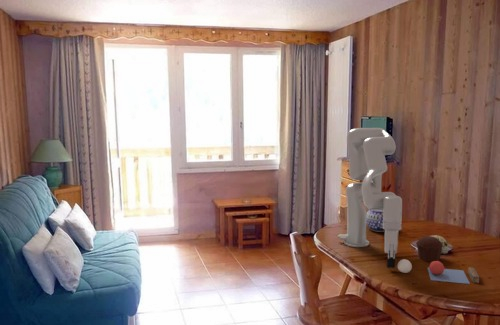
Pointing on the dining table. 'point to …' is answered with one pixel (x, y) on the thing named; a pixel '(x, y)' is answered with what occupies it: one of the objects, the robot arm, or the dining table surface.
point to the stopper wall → (473, 275)
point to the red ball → (436, 267)
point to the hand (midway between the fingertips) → (390, 266)
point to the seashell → (444, 243)
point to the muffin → (429, 248)
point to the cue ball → (404, 266)
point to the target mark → (450, 276)
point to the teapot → (375, 220)
